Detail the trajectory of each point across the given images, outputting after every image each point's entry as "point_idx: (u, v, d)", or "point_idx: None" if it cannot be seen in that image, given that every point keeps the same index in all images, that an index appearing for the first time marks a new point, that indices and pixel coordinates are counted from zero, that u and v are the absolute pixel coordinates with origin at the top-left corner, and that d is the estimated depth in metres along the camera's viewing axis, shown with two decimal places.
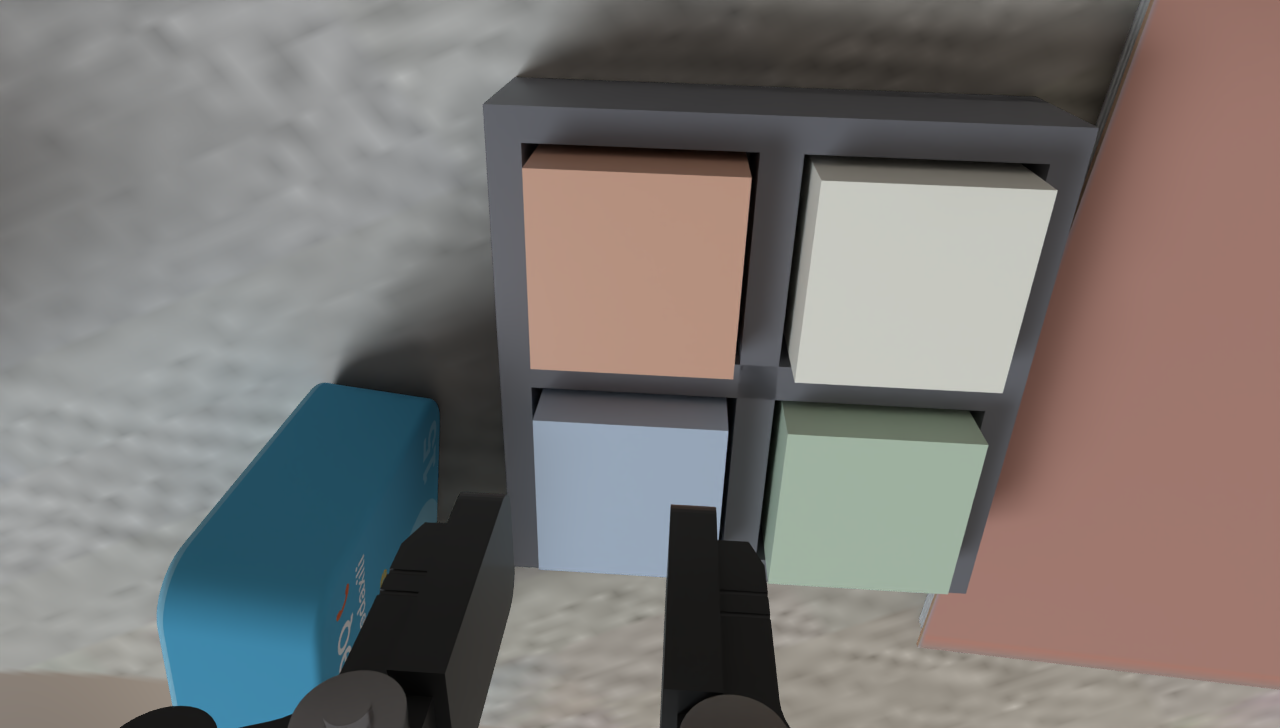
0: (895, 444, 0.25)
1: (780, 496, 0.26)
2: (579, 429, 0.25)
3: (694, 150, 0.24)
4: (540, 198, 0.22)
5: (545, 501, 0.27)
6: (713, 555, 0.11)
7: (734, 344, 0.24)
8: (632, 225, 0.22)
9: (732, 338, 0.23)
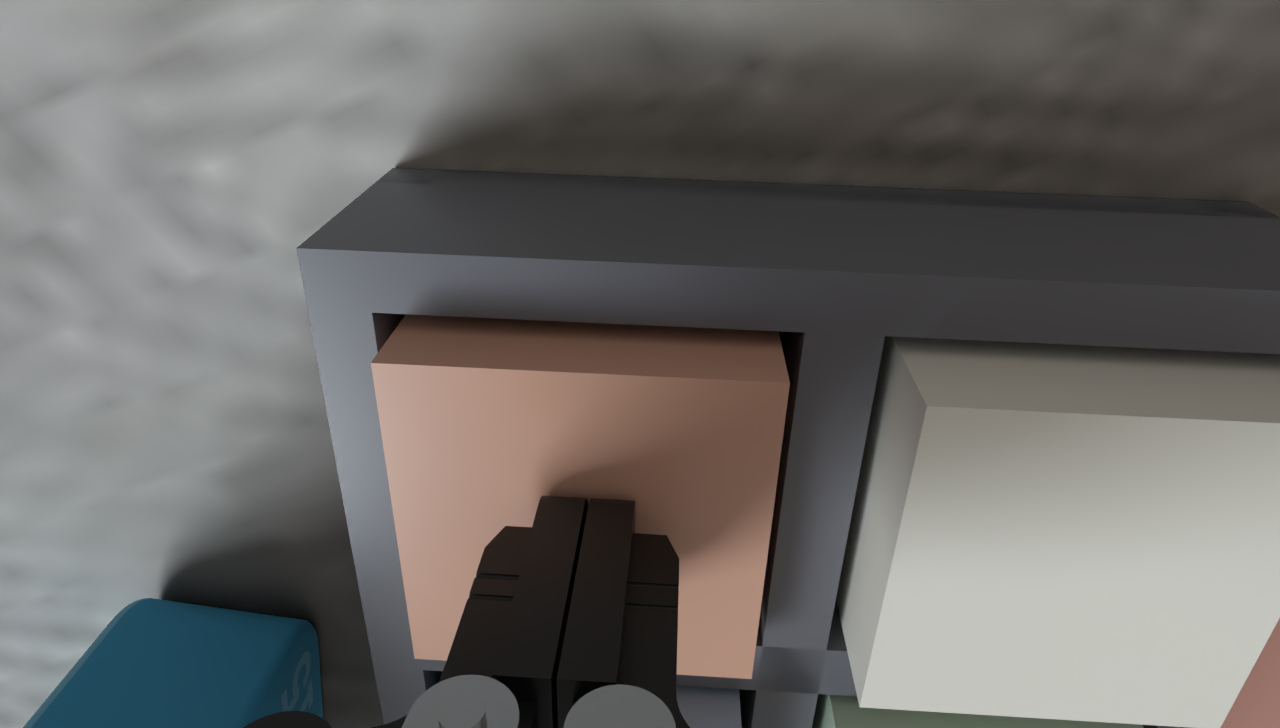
0: None
1: None
2: None
3: None
4: (409, 411, 0.12)
5: None
6: (625, 548, 0.11)
7: (754, 631, 0.14)
8: (575, 455, 0.12)
9: (751, 622, 0.14)
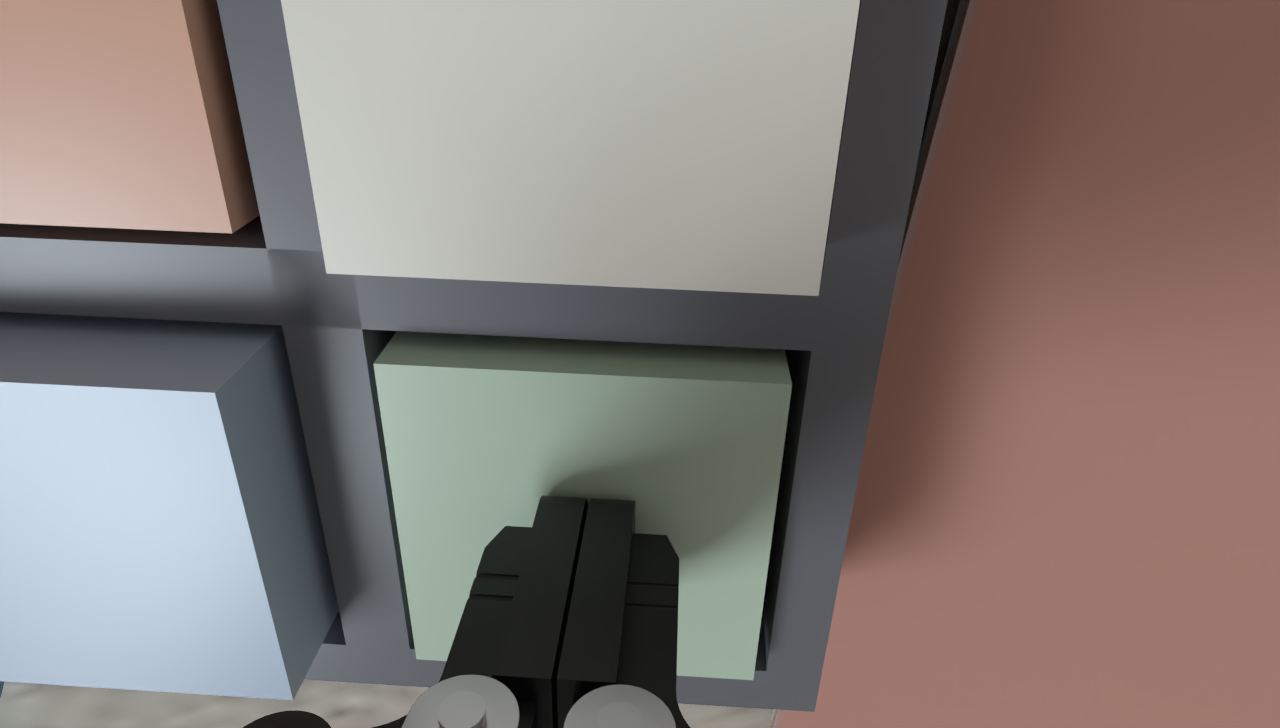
0: (599, 384, 0.12)
1: (394, 494, 0.13)
2: None
3: None
4: None
5: None
6: (625, 548, 0.11)
7: (211, 149, 0.11)
8: None
9: (201, 134, 0.11)
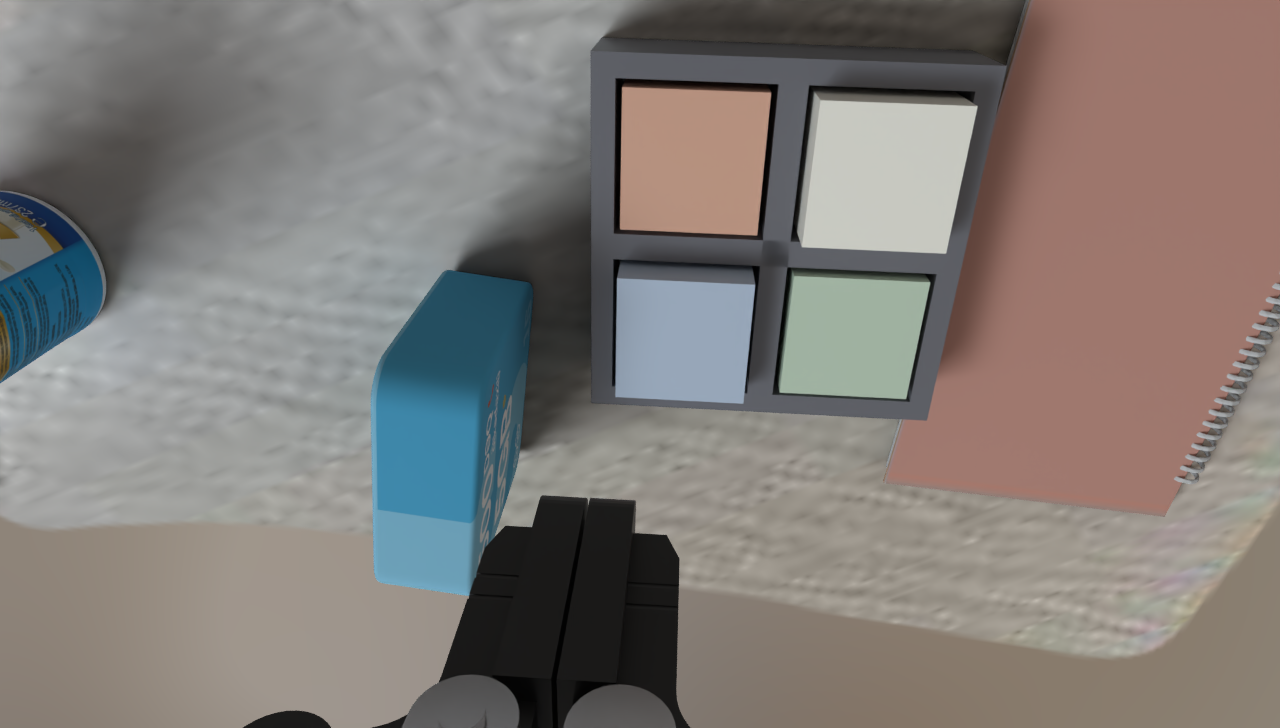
0: (867, 283, 0.36)
1: (788, 323, 0.38)
2: (650, 284, 0.36)
3: None
4: (633, 107, 0.34)
5: (622, 341, 0.37)
6: (625, 548, 0.11)
7: (758, 209, 0.35)
8: (693, 126, 0.34)
9: (757, 205, 0.35)
